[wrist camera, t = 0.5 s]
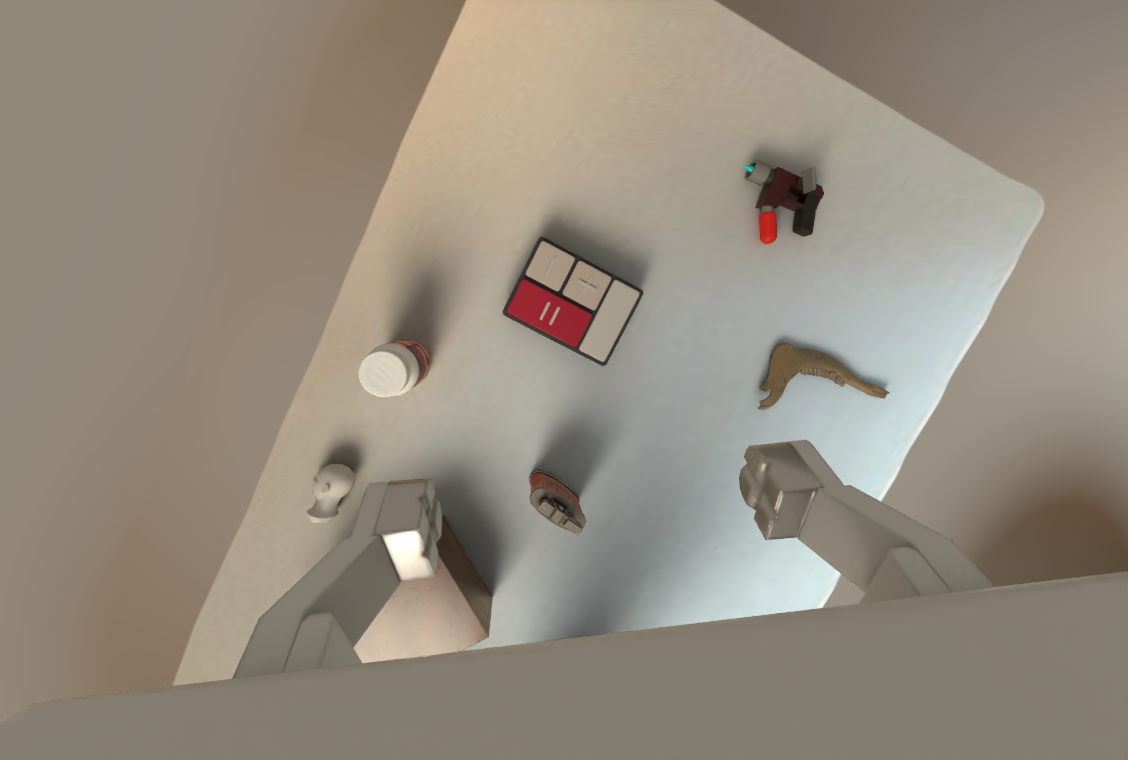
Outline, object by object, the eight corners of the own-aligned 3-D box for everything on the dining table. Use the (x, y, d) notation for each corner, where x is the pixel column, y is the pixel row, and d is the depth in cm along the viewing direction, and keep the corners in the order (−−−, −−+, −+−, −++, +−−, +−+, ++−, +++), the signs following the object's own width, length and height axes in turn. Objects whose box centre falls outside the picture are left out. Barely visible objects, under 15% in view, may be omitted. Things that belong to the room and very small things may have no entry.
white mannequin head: (338, 452, 64) (367, 472, 63) (310, 502, 64) (338, 523, 64) (316, 456, 60) (347, 478, 59) (286, 509, 60) (317, 532, 59)
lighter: (523, 482, 66) (524, 512, 56) (538, 463, 66) (541, 490, 56) (569, 513, 67) (578, 547, 57) (583, 494, 67) (594, 525, 57)
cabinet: (391, 651, 67) (373, 698, 59) (338, 570, 65) (311, 607, 57) (492, 597, 68) (488, 636, 59) (443, 515, 65) (432, 544, 57)
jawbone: (749, 345, 67) (757, 345, 65) (882, 335, 69) (894, 335, 66) (752, 408, 67) (760, 410, 65) (884, 396, 69) (896, 398, 67)
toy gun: (743, 156, 62) (762, 143, 58) (821, 190, 64) (845, 180, 59) (717, 226, 63) (732, 219, 59) (794, 258, 65) (815, 254, 60)
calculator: (540, 234, 58) (646, 290, 59) (540, 240, 62) (639, 293, 63) (500, 313, 59) (605, 367, 60) (503, 314, 63) (601, 365, 64)
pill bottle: (417, 332, 62) (395, 336, 50) (439, 373, 63) (421, 386, 52) (375, 352, 62) (342, 360, 50) (397, 393, 63) (370, 410, 51)
